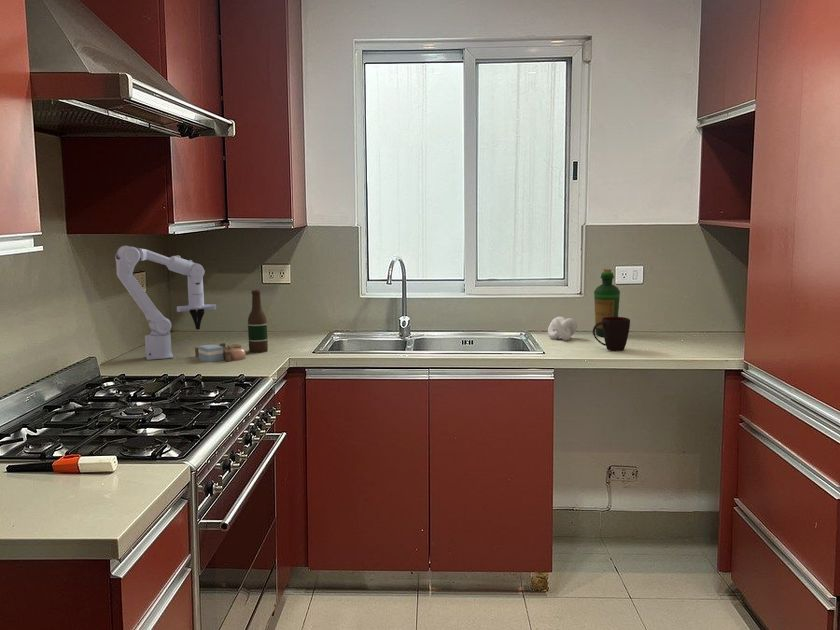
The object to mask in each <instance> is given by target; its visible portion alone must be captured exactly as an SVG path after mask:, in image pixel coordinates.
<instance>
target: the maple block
mask: <svg viewBox="0 0 840 630" xmlns="http://www.w3.org/2000/svg"><path fill="white" fill-rule="evenodd" d="M226 347H227V349H228V350H230V349H235V348H242V345H241V344H238V343H236V344H235V343H234V344H227V345H226Z"/></svg>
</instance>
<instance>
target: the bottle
mask: <svg viewBox="0 0 840 630" xmlns="http://www.w3.org/2000/svg"><path fill="white" fill-rule="evenodd" d="M600 279H601V284H600V285H598V286H597V287H596V288H595V290H594V291H593V295H594V300H593V301H594V318H595V319H594V321H595V322H594V323H595V325H596V324H597V323H599V322H602V318H605V317H619V308H620V298H621V291H620V289H619V287H617V286H616V285H615V284H613V281H614V280H613V279H615V276H614V272H612V269H610V268H606V269H603V272H601V275H600ZM595 325H594V326H595ZM595 335H596V337H600V338H604V334H603V327H602V324H600V325H598V326H597V327H596V329H595Z"/></svg>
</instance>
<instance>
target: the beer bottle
mask: <svg viewBox="0 0 840 630" xmlns="http://www.w3.org/2000/svg"><path fill="white" fill-rule="evenodd" d="M261 293H262V292H261V290H260V289H253V290H251V300H252V301H251V310H250V312H249V314H248V318H247V331H248V332H247V333H248V351H249V353H254V354H256V353H257V354H259V353H266V352H268V349H269V345H268V343H269V342H268V323H267V322H268V320H267V316H266V314H265V313H264V311H263V308H262V302H261V301H262V300H261Z"/></svg>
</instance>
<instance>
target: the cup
mask: <svg viewBox="0 0 840 630" xmlns="http://www.w3.org/2000/svg"><path fill="white" fill-rule="evenodd" d="M600 324H602V327H603V334H604V337H603V340H604V342H602V341H600V339H599V338H598V336H597V335H596V327H597V326H598V325H600ZM630 326H631V319H630V318H628V317H624V316H618V317H605V318H602V322H599V323H597V324H596V325H594V326H593V328H592V334H593V337H594V339H595V340H596V341H597V342H598V343H599V344H601V345H603V346H605V347H606V350H607V351H609V352H623V351H624V350H625V349H626V345H627V341H628V338H629V334H630V333H629V332H630V328H631V327H630Z"/></svg>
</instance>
